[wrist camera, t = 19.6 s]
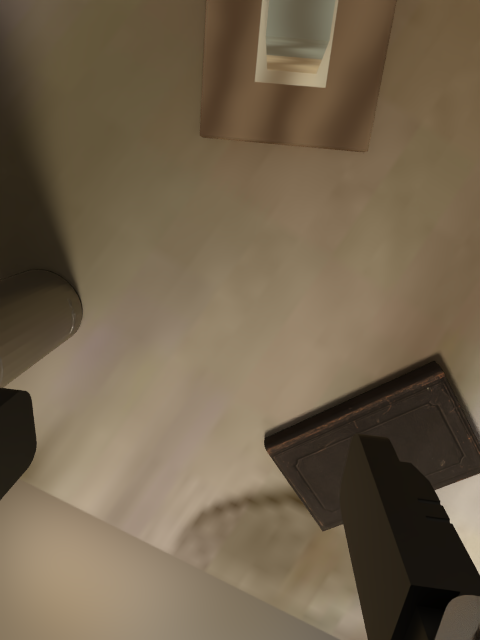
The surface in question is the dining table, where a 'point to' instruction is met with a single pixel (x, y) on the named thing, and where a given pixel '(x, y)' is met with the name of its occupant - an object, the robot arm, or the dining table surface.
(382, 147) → the dining table surface
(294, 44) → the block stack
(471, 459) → the hardcover book
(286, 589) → the dining table surface
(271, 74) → the walnut board
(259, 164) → the dining table surface
